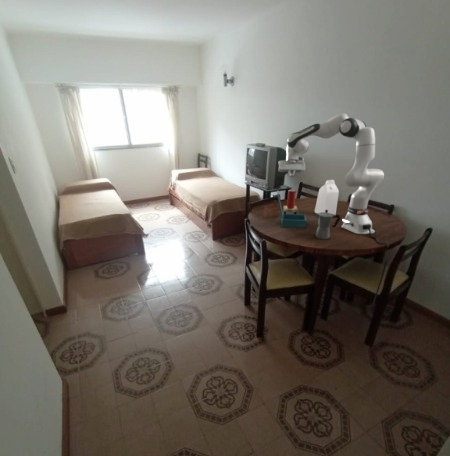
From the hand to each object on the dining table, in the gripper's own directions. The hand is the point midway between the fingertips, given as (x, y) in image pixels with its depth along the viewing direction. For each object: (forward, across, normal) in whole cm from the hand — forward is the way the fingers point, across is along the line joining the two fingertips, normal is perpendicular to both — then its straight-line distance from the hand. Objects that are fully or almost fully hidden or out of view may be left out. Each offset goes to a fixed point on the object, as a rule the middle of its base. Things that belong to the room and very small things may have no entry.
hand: (291, 176), depth 210 cm
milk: (+20, +30, +20) cm, 42 cm away
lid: (+29, -9, -10) cm, 31 cm away
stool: (+29, +1, +11) cm, 31 cm away
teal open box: (+40, +2, 0) cm, 40 cm away
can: (+23, 0, +6) cm, 24 cm away
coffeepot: (+54, +19, -16) cm, 60 cm away
